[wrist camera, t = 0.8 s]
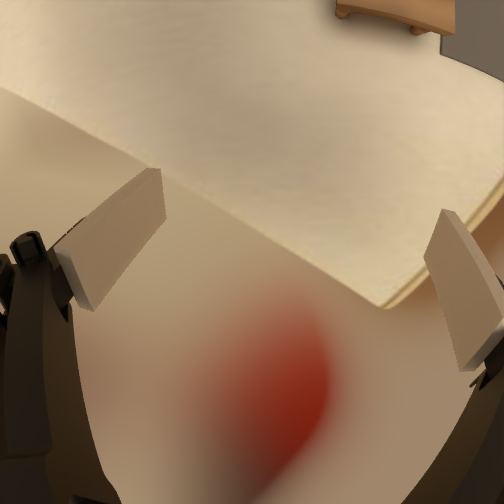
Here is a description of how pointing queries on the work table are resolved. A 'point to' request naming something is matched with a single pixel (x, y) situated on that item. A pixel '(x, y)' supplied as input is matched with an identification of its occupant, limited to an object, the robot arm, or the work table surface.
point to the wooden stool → (406, 13)
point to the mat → (478, 36)
